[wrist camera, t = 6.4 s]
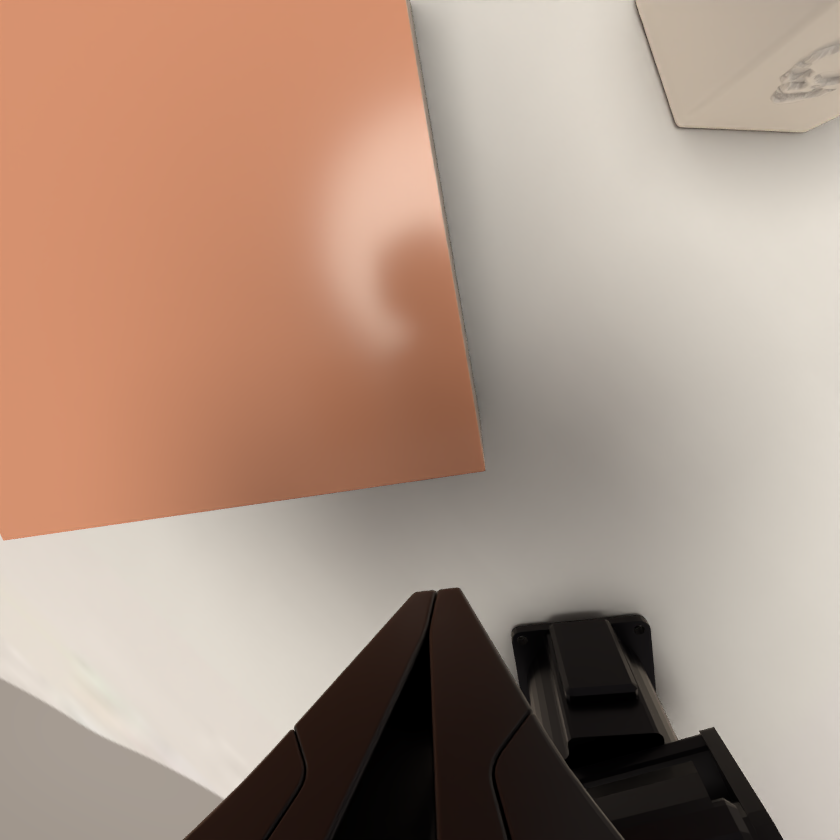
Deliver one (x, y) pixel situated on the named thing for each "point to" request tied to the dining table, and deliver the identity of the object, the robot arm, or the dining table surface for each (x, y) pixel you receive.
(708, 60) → the jar
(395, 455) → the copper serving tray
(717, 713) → the dining table surface
